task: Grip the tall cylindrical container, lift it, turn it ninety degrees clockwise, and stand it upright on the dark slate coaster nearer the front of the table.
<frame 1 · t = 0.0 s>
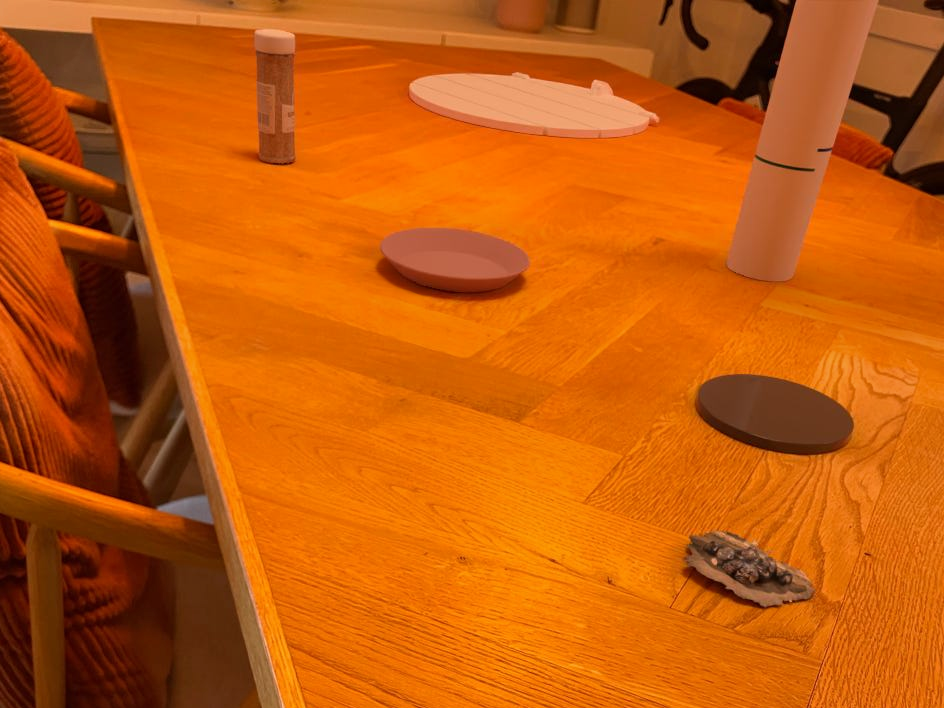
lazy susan: (530, 108, 161), on the table
sprinkles bottle: (276, 161, 120), on the table
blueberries: (747, 575, 59), on the table
plate: (453, 274, 95), on the table
coaster: (772, 416, 77), on the table
cylindrical container: (758, 271, 106), on the table
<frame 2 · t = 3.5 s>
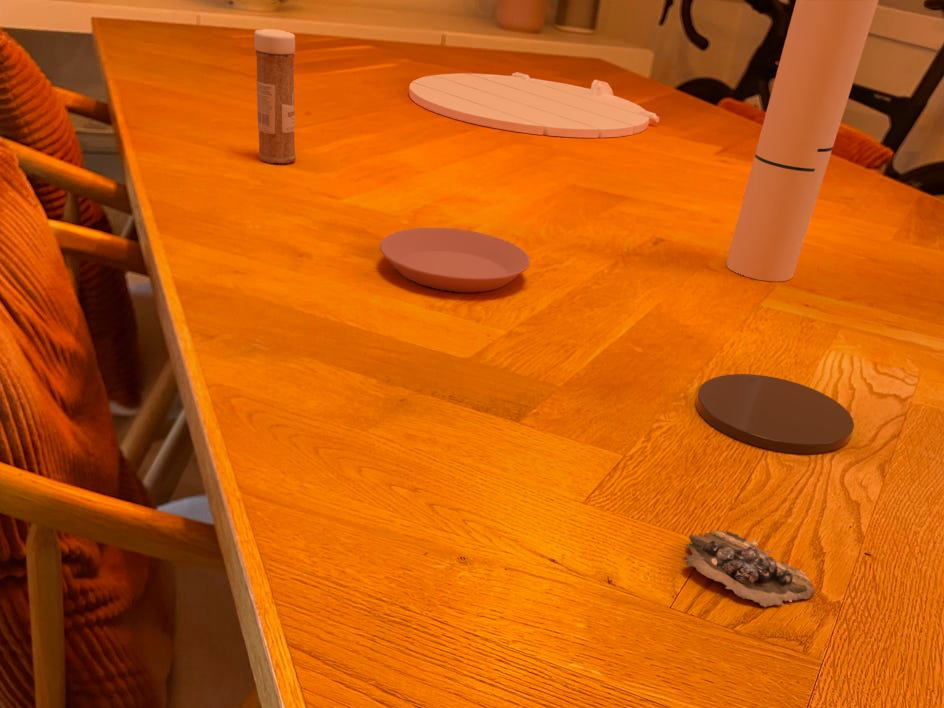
nothing on the table moved.
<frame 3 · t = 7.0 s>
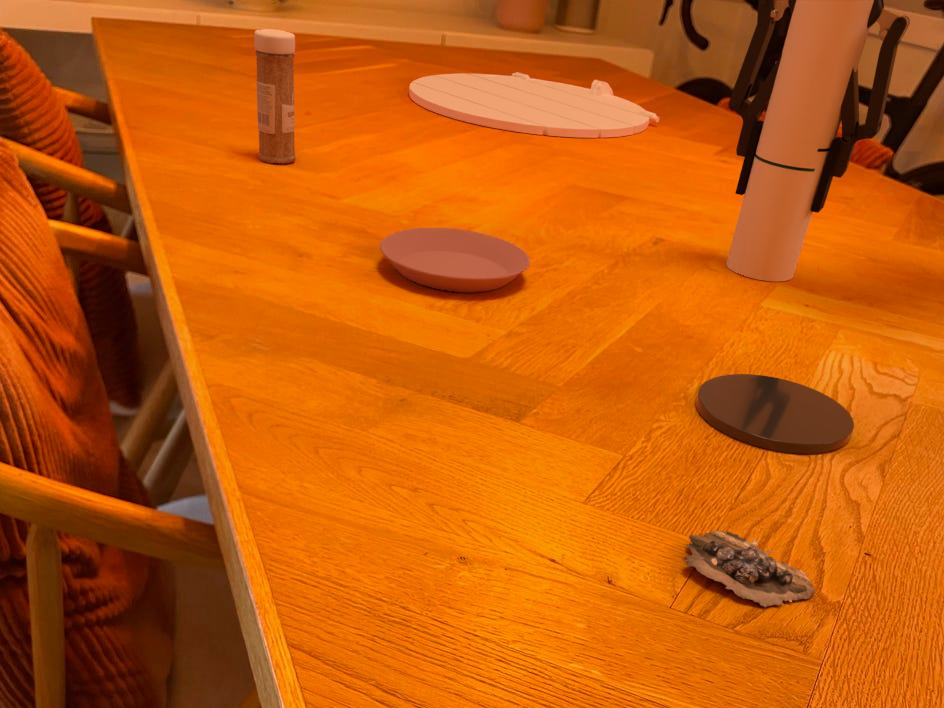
hand: (779, 200, 101), 7 cm above the table, tool pointing down, fingers closed on cylindrical container, 7 cm apart
cylindrical container: (758, 271, 106), on the table, touching gripper
everything else where it was.
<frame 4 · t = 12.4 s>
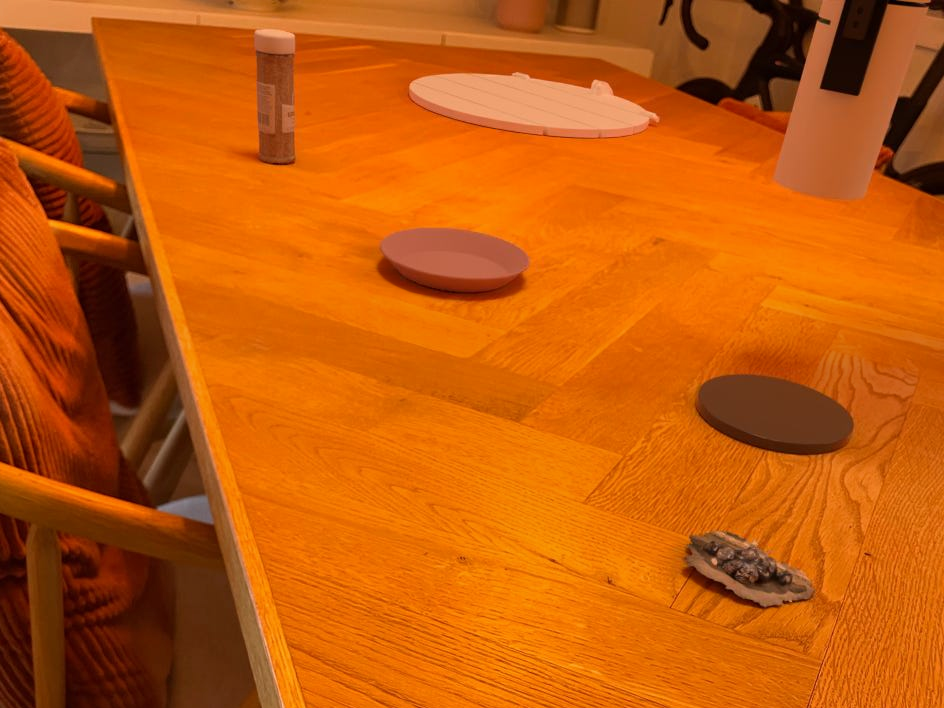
hand: (850, 85, 73), 21 cm above the table, tool pointing down, fingers closed on cylindrical container, 7 cm apart
cylindrical container: (817, 189, 78), point 14 cm above the table, touching gripper
everything else where it was.
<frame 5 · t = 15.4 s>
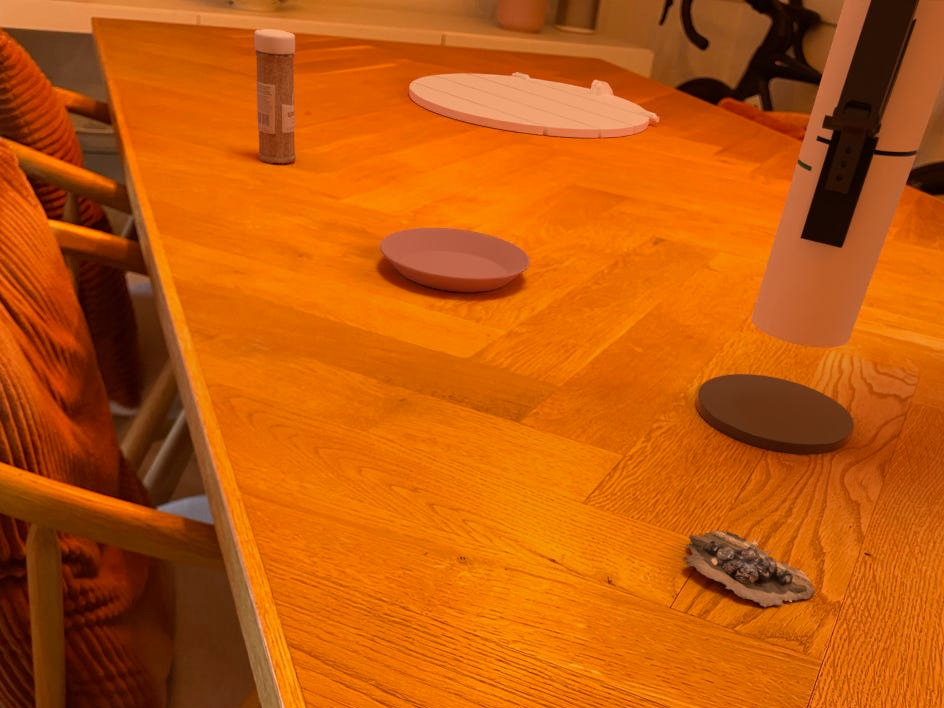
hand: (833, 228, 68), 14 cm above the table, tool pointing down, fingers closed on cylindrical container, 7 cm apart
cylindrical container: (799, 330, 72), point 7 cm above the table, touching gripper
everything else where it was.
when the fingers open (8 cm above the table, at t = 17.6 s): cylindrical container stays where it is, resting on coaster.
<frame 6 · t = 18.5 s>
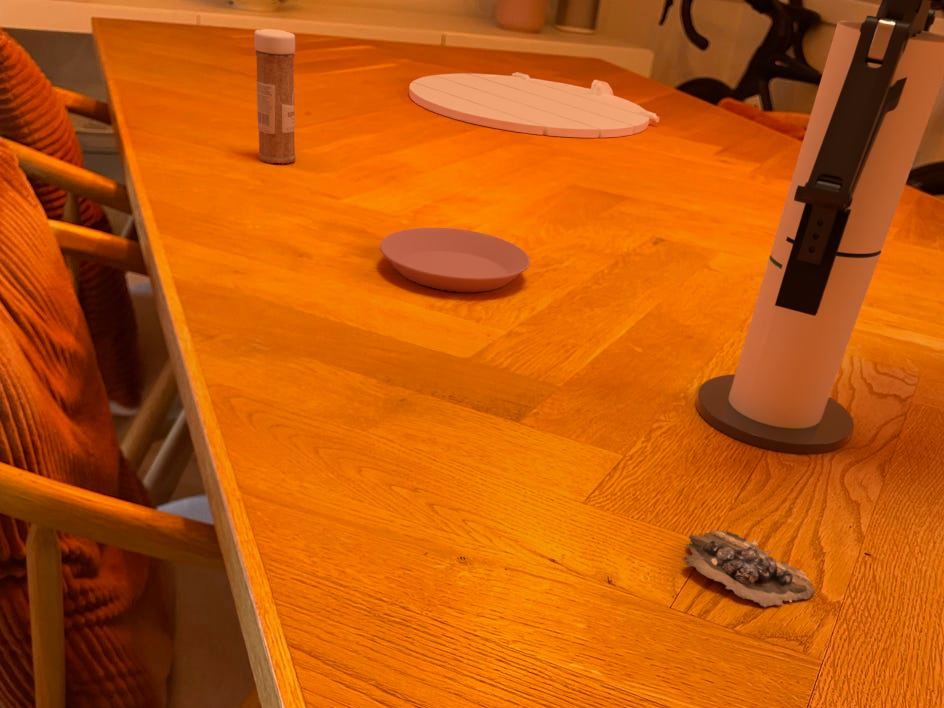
hand: (816, 283, 70), 10 cm above the table, tool pointing down, fingers open, 13 cm apart
cylindrical container: (773, 409, 76), point 1 cm above the table, touching coaster
everything else where it was.
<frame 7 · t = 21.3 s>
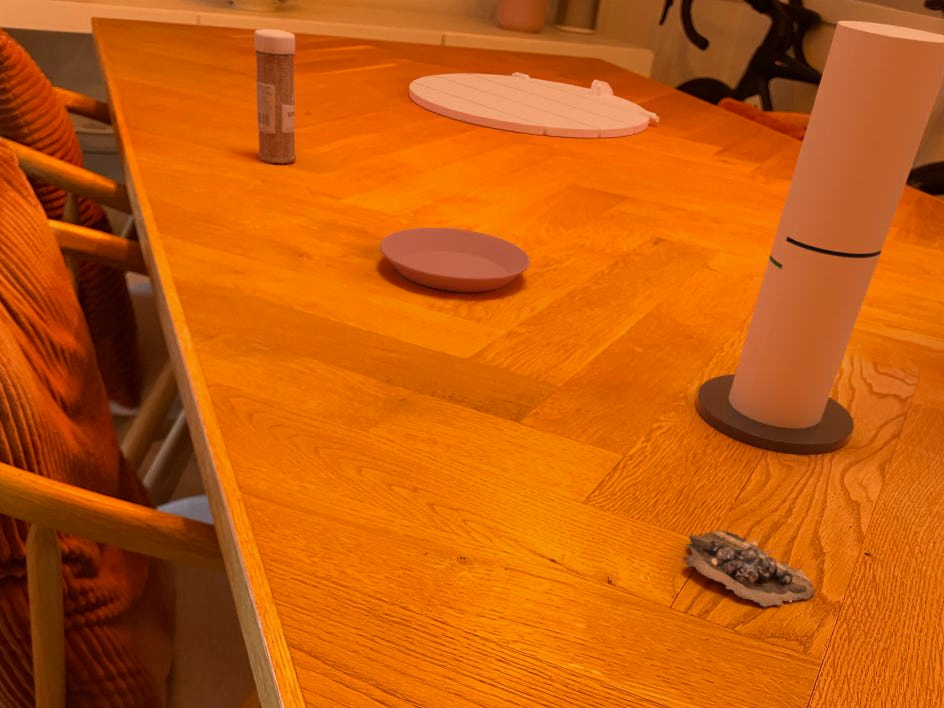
nothing on the table moved.
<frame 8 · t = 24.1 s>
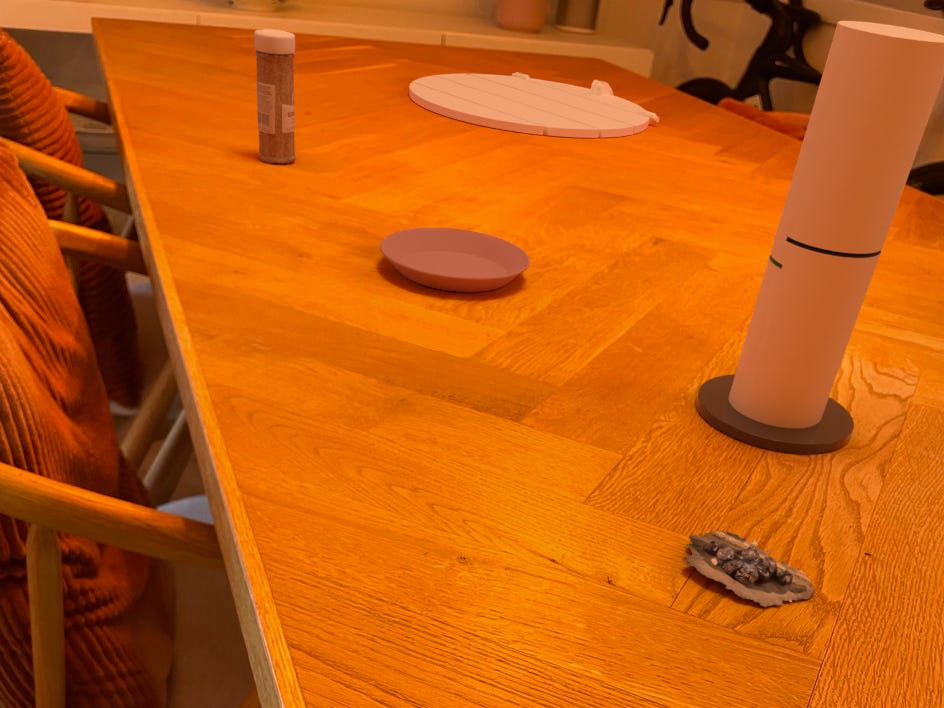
nothing on the table moved.
at the end: cylindrical container 0.0 cm off-centre on the coaster, point 0.6 cm above the coaster's base; cylindrical container tilted 0°; the gripper is holding nothing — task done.
